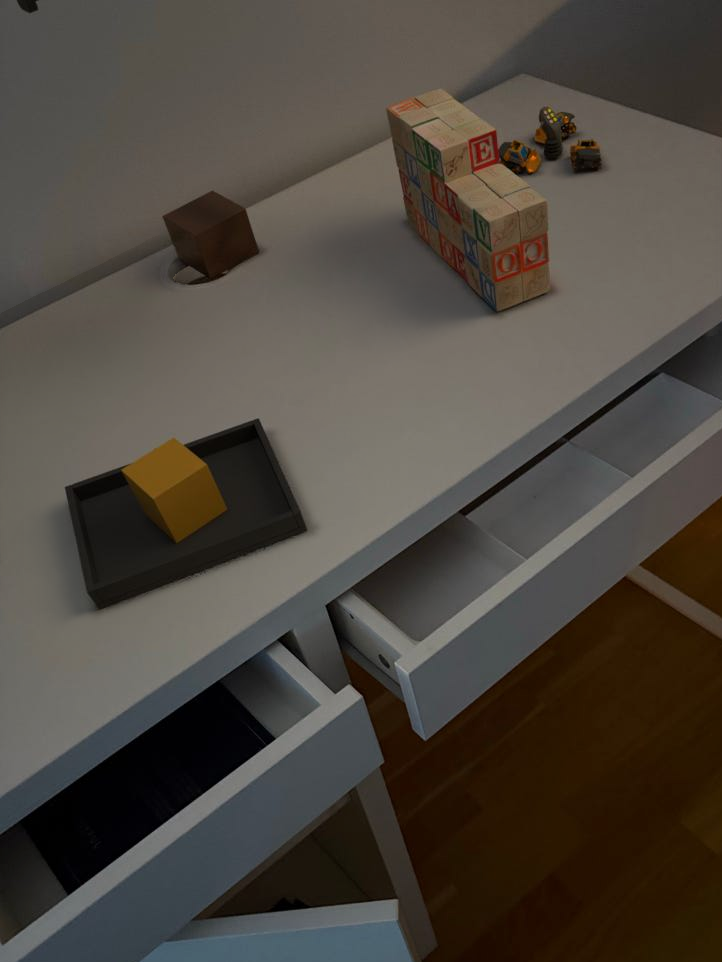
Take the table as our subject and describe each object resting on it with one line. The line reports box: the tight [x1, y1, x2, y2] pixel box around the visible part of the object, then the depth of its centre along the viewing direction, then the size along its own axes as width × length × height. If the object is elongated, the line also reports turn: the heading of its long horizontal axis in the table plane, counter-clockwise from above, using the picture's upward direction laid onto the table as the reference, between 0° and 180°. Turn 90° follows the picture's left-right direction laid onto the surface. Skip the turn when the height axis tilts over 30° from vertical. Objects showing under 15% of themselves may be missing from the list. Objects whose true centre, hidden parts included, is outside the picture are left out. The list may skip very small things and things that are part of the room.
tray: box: [64, 417, 308, 610], centre depth 77 cm, size 17×13×2 cm
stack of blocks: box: [385, 88, 551, 313], centre depth 92 cm, size 21×6×12 cm, turn 27°
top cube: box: [121, 437, 227, 543], centre depth 75 cm, size 5×5×5 cm
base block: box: [162, 190, 260, 280], centre depth 101 cm, size 6×6×5 cm
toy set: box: [498, 106, 602, 174], centre depth 105 cm, size 12×11×5 cm
